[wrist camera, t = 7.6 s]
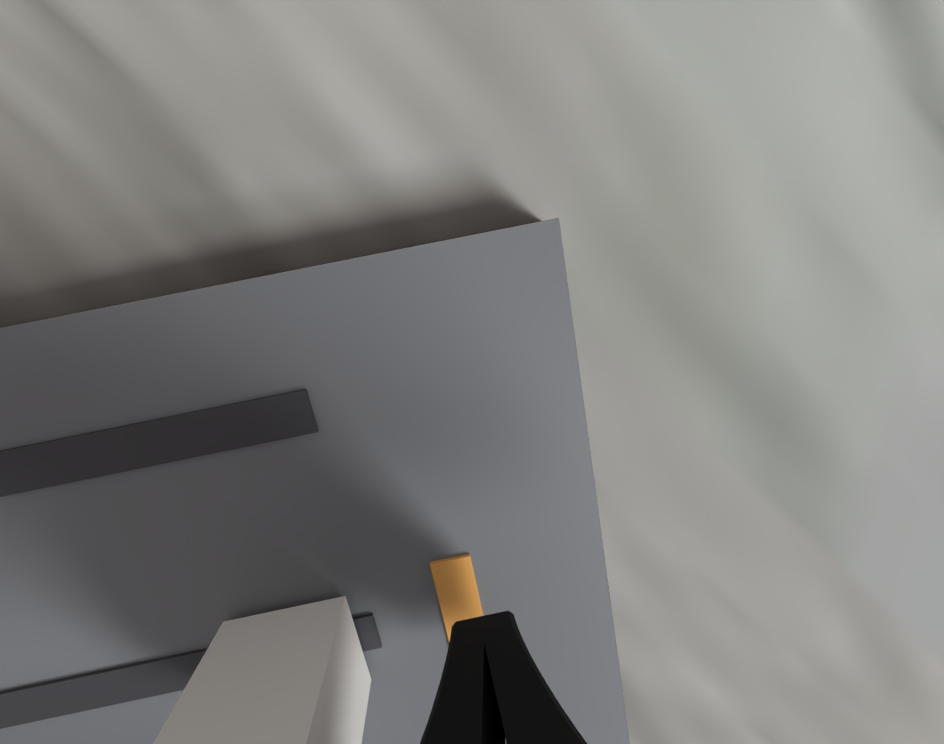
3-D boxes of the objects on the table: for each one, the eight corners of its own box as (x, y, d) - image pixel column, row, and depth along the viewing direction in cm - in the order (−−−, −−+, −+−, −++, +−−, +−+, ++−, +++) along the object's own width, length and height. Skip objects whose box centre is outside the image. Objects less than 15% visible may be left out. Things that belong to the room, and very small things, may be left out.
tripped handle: (371, 679, 12) (345, 850, 9) (256, 704, 12) (183, 887, 9) (345, 596, 12) (305, 745, 8) (223, 621, 11) (129, 783, 8)
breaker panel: (622, 773, 16) (704, 1006, 11) (-94, 931, 16) (-340, 1247, 11) (543, 221, 11) (625, 201, 6) (-486, 424, 11) (-1256, 570, 6)
